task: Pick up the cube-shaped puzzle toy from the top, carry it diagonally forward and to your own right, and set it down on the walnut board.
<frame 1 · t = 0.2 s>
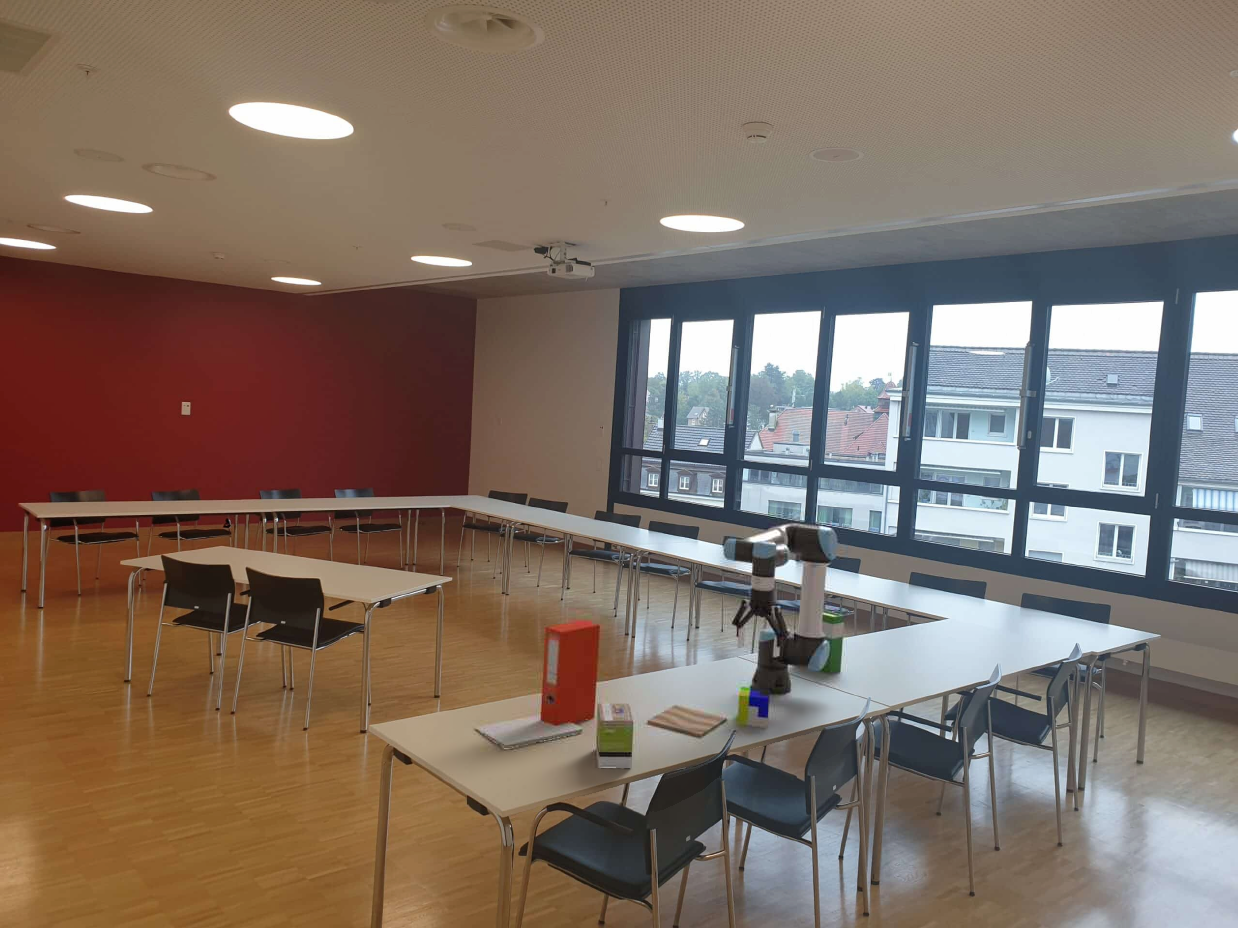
hand: (758, 651, 291), 27 cm above the table, tool pointing down, fingers open, 13 cm apart
puzzle toy: (752, 721, 302), on the table
file binder: (567, 720, 293), on the table
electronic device: (528, 732, 281), on the table
hardback book: (817, 668, 372), on the table
tea box: (612, 759, 263), on the table
walnut board: (687, 721, 298), on the table
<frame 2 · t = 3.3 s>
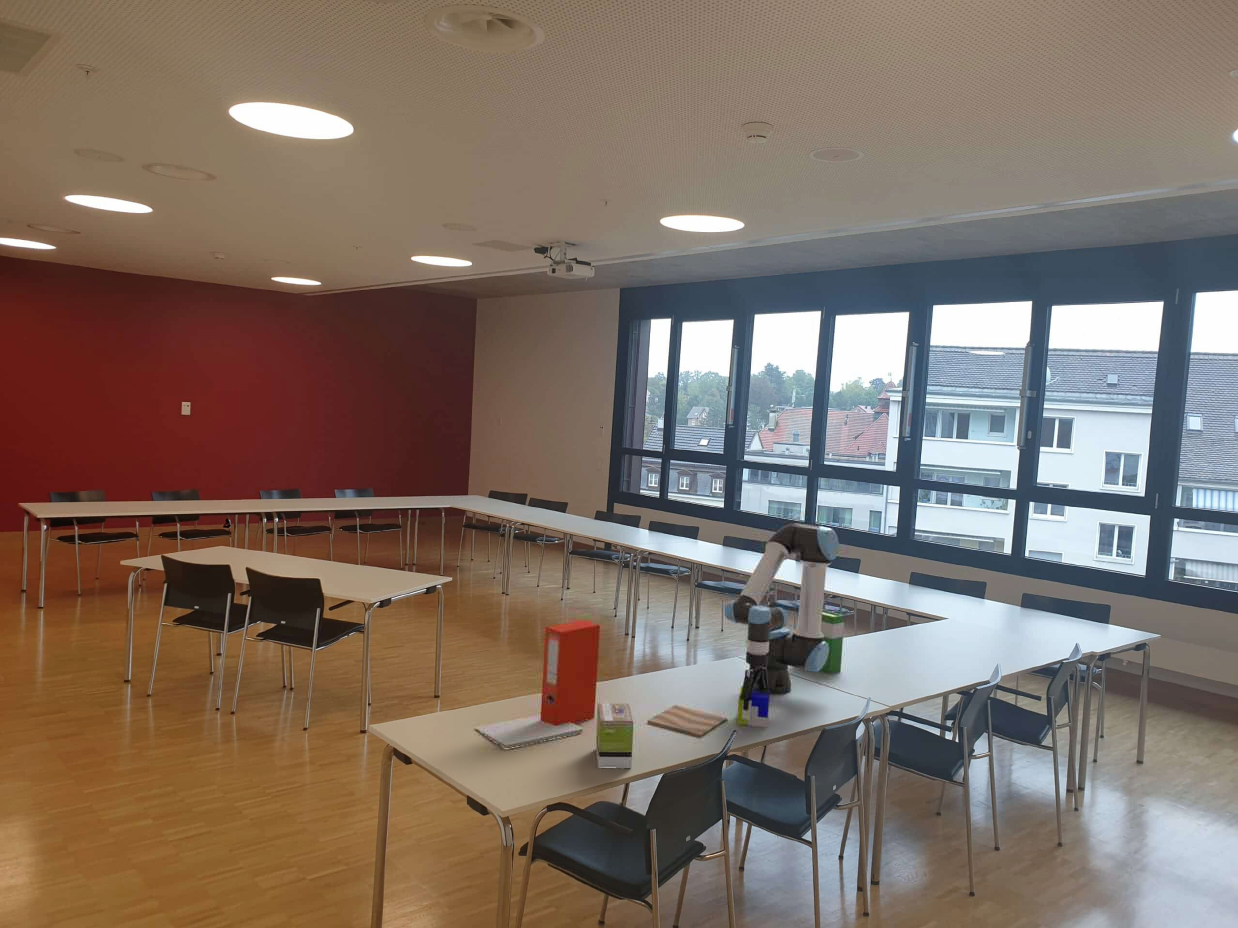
hand: (753, 713, 302), 2 cm above the table, tool pointing down, fingers closed on puzzle toy, 12 cm apart
puzzle toy: (752, 721, 302), on the table, touching gripper
everything else where it was.
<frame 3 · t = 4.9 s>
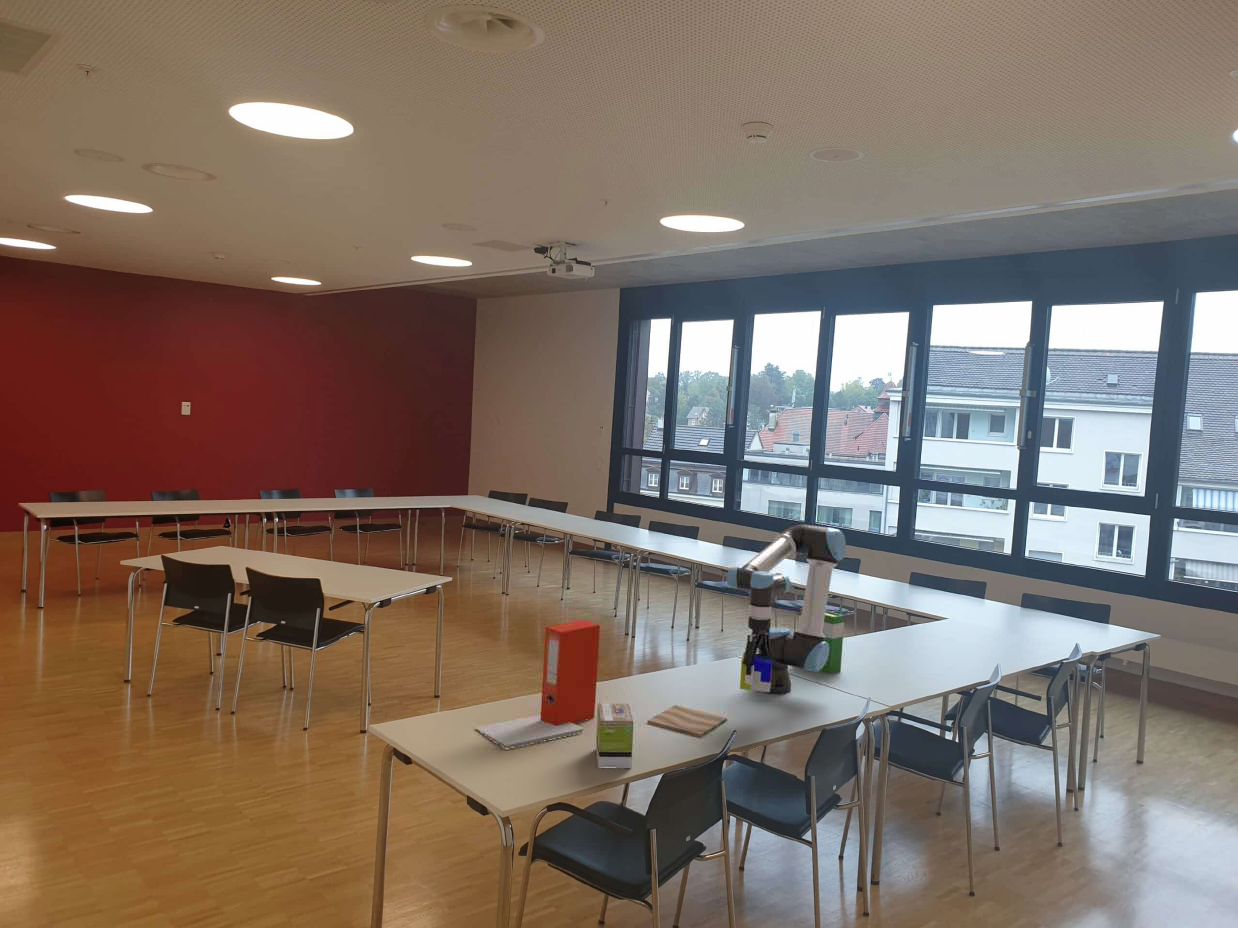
hand: (756, 679, 302), 14 cm above the table, tool pointing down, fingers closed on puzzle toy, 12 cm apart
puzzle toy: (755, 686, 302), point 12 cm above the table, touching gripper
everything else where it was.
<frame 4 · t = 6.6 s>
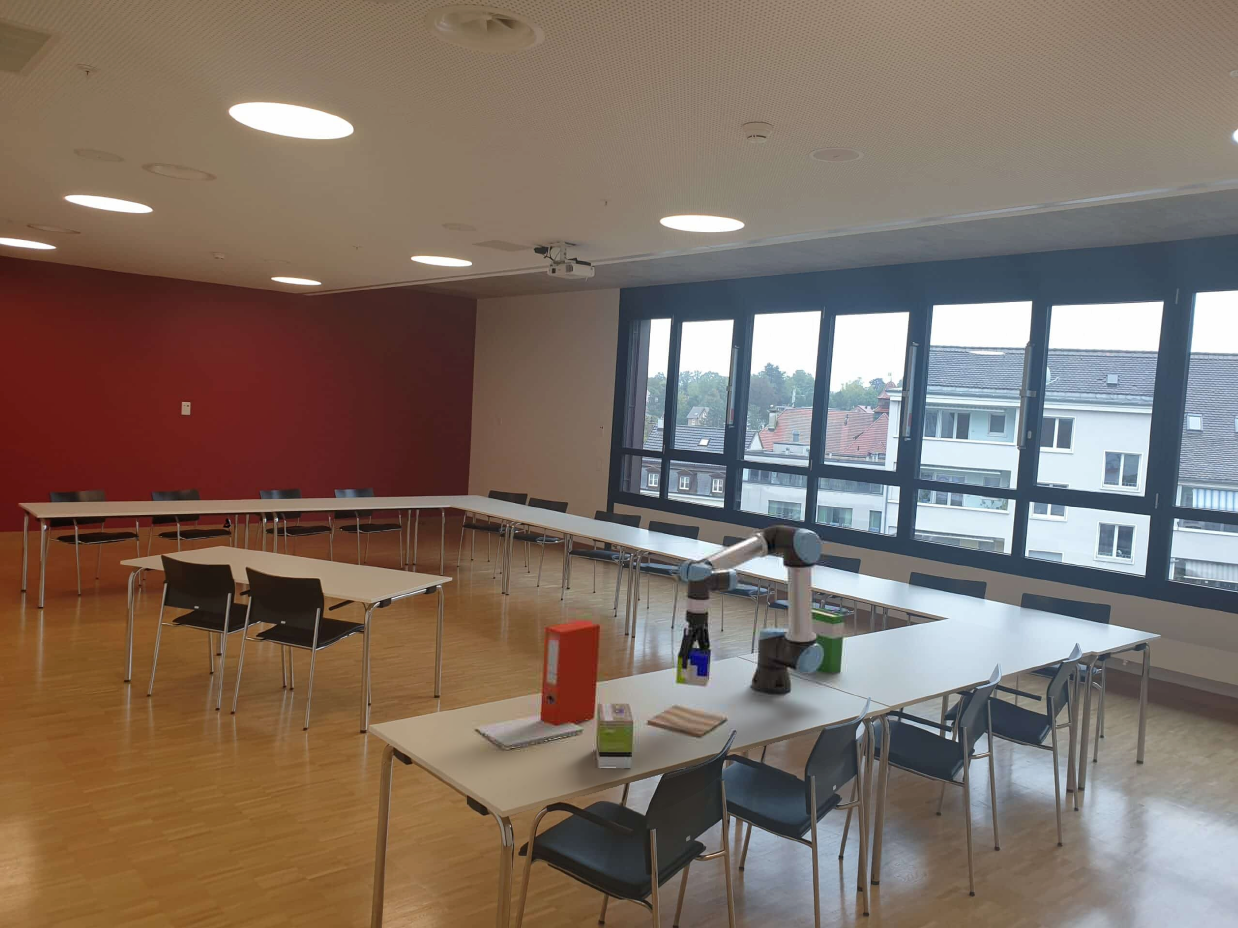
hand: (693, 673, 297), 17 cm above the table, tool pointing down, fingers closed on puzzle toy, 12 cm apart
puzzle toy: (692, 681, 297), point 14 cm above the table, touching gripper
everything else where it was.
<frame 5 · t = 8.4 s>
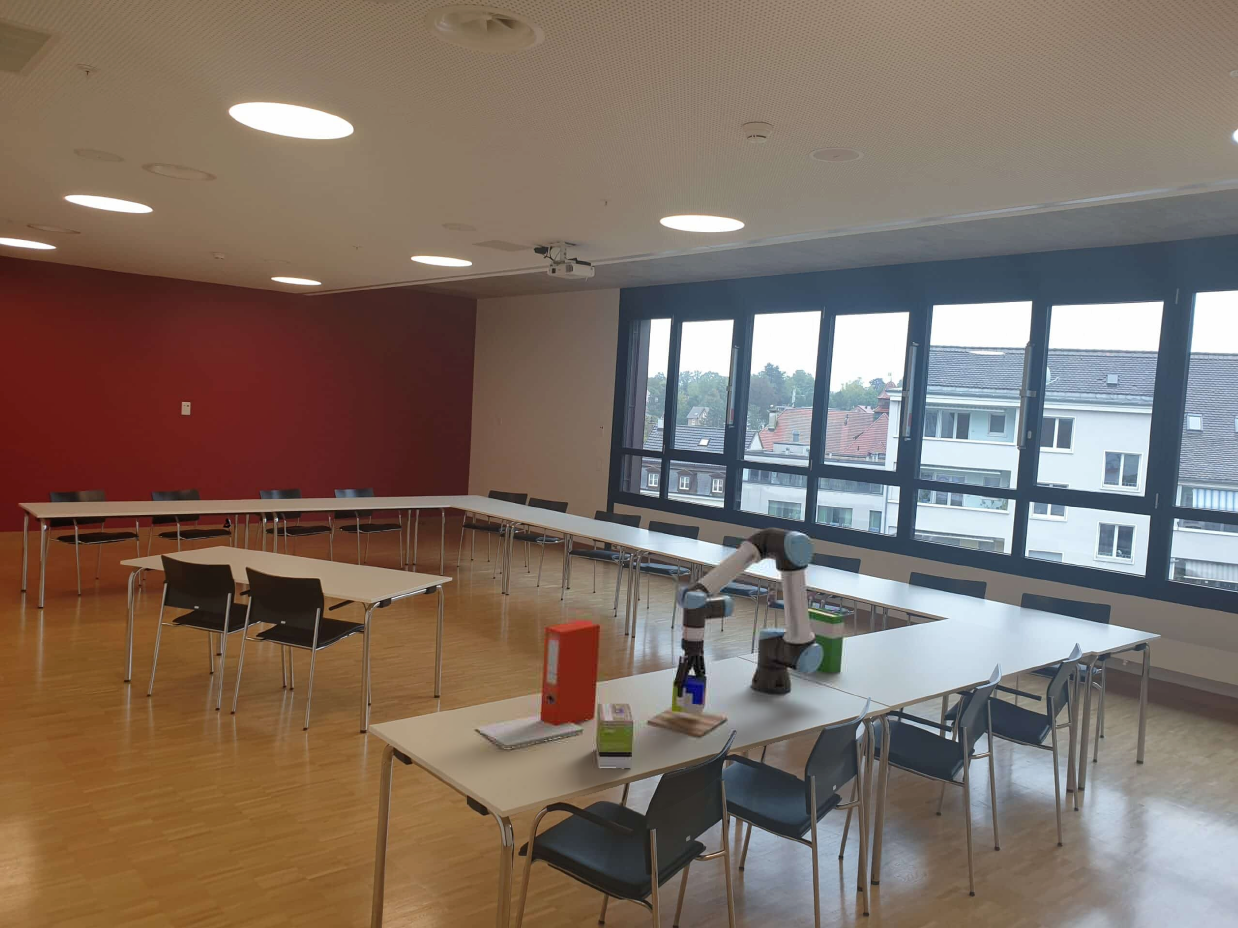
hand: (688, 701, 297), 7 cm above the table, tool pointing down, fingers closed on puzzle toy, 12 cm apart
puzzle toy: (688, 708, 297), point 5 cm above the table, touching gripper
everything else where it was.
when the fingers open (5 cm above the table, at t = 10.0 s): puzzle toy drops 1 cm, resting on walnut board.
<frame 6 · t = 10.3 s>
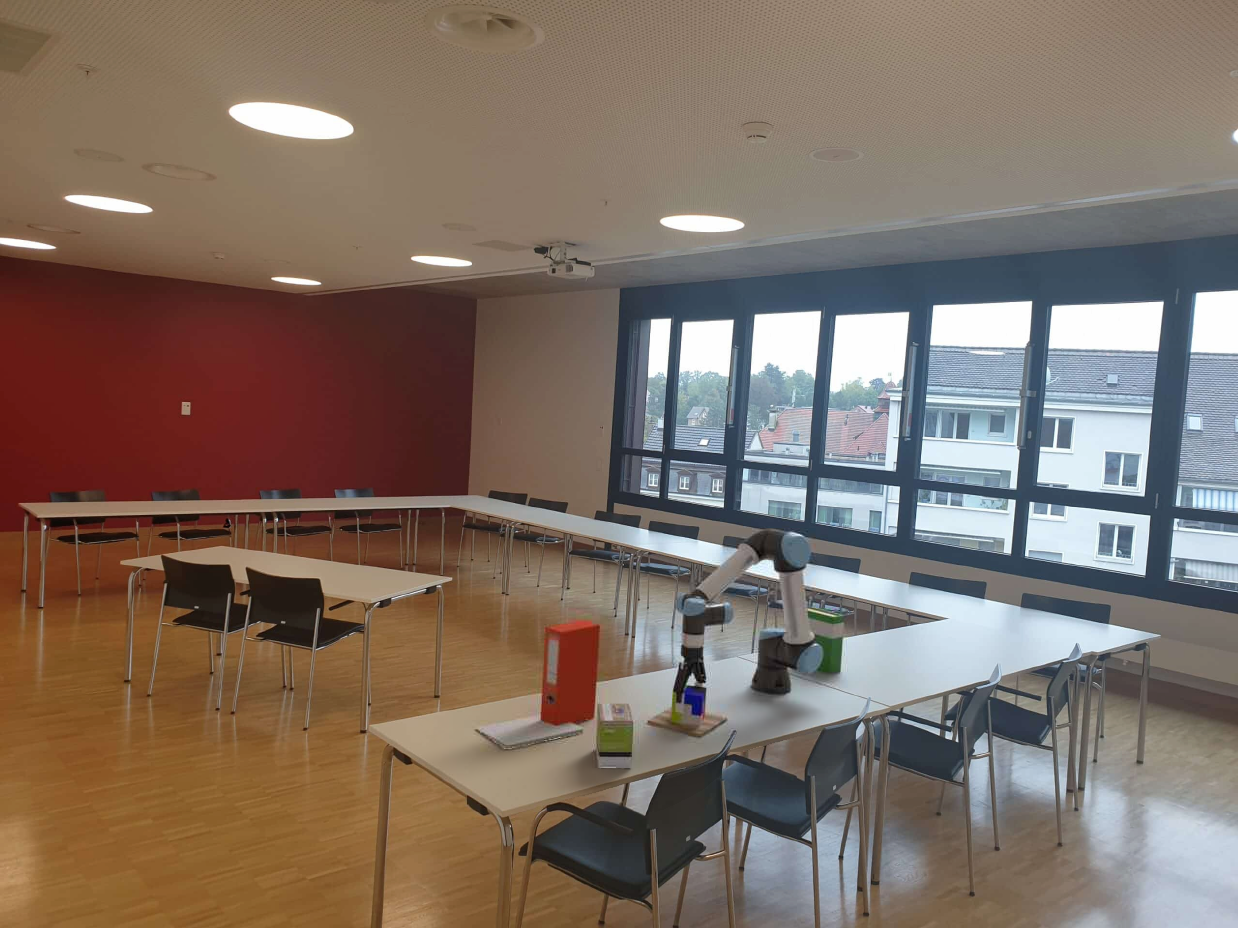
hand: (688, 706, 297), 5 cm above the table, tool pointing down, fingers open, 13 cm apart
puzzle toy: (687, 719, 298), point 1 cm above the table, touching walnut board
everything else where it was.
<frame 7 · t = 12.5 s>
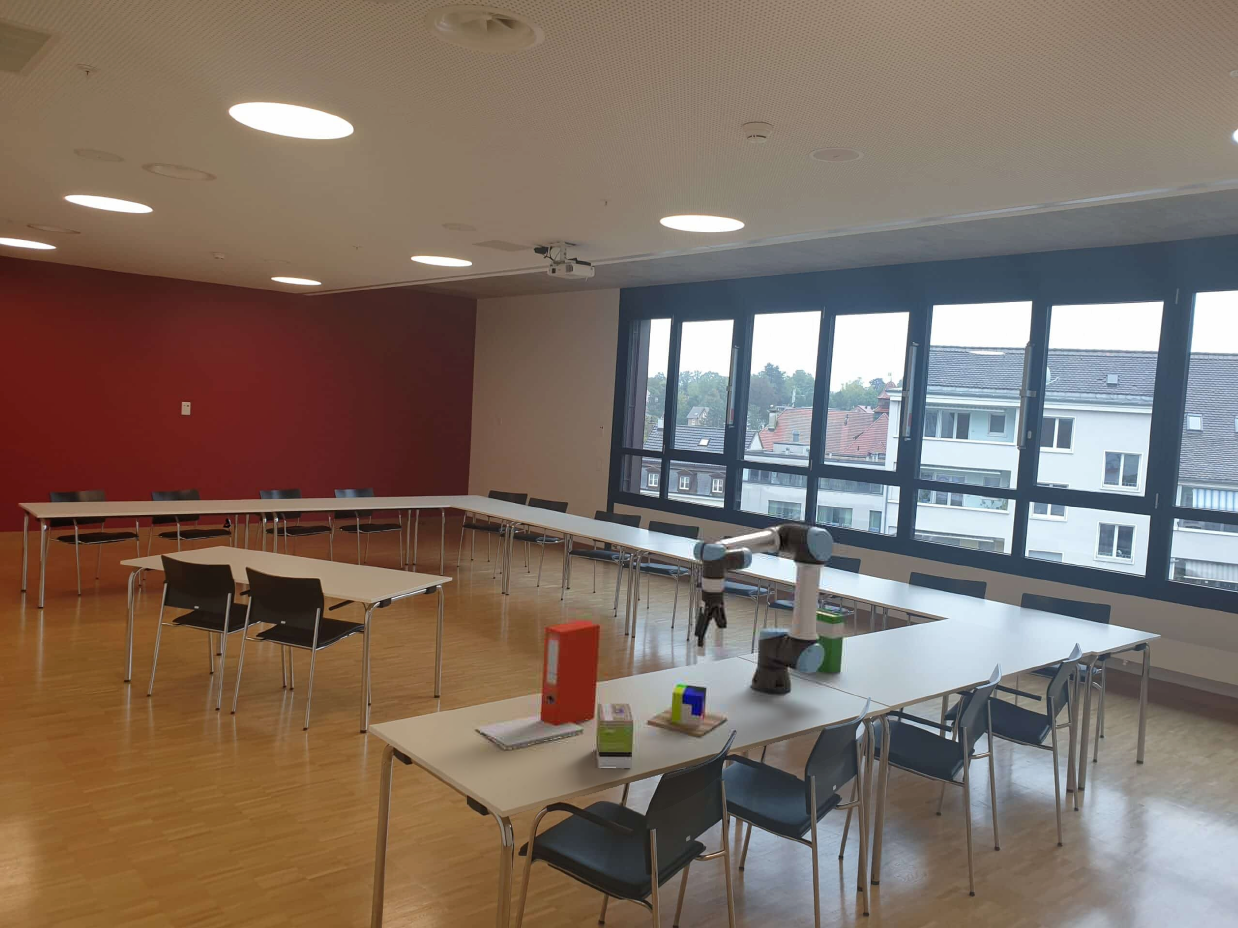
hand: (710, 651, 299), 24 cm above the table, tool pointing down, fingers open, 13 cm apart
nothing on the table moved.
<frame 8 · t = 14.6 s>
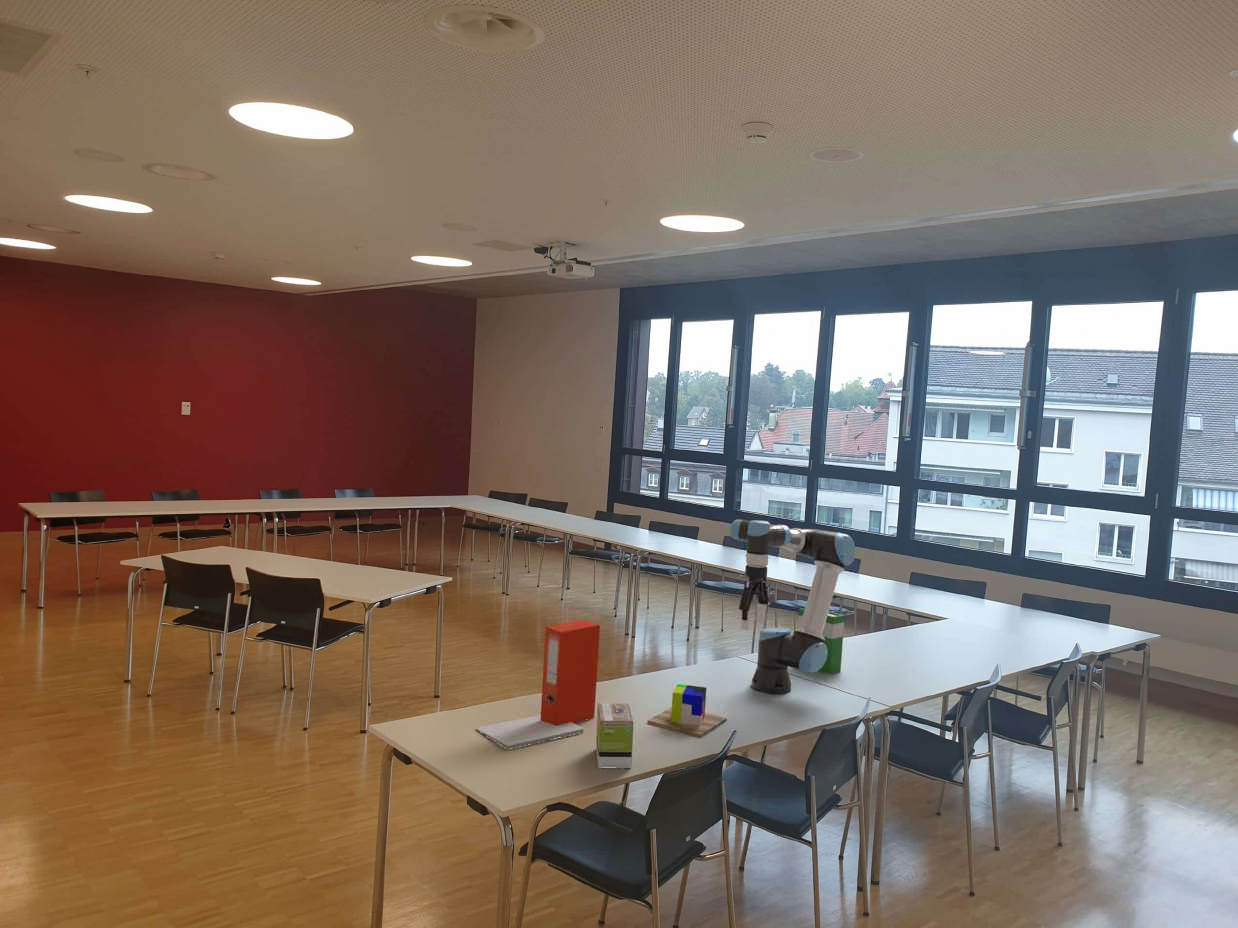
hand: (752, 625, 306), 32 cm above the table, tool pointing down, fingers open, 13 cm apart
nothing on the table moved.
at the end: puzzle toy inside the target area on the walnut board (0.1 cm from its centre), point 0.8 cm above the walnut board's base; puzzle toy tilted 0°; the gripper is holding nothing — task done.
